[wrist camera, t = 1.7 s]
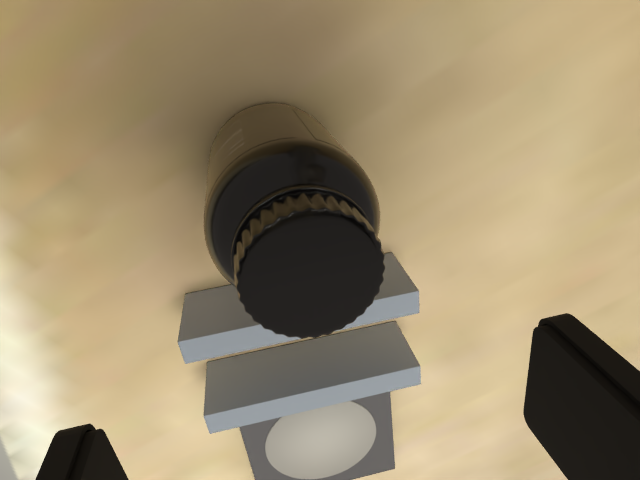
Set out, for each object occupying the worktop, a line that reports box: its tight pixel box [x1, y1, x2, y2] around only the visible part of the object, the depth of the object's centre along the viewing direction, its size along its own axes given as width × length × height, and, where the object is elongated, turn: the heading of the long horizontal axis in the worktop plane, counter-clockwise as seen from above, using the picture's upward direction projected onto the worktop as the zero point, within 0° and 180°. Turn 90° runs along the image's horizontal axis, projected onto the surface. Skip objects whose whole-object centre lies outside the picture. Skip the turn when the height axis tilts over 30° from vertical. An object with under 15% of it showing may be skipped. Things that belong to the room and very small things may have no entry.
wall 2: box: [204, 321, 421, 434], centre depth 28 cm, size 2×13×4 cm, turn 97°
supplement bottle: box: [204, 103, 385, 339], centre depth 19 cm, size 7×7×12 cm
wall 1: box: [178, 252, 419, 364], centre depth 26 cm, size 2×13×4 cm, turn 97°
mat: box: [240, 391, 395, 480], centre depth 33 cm, size 11×11×1 cm
